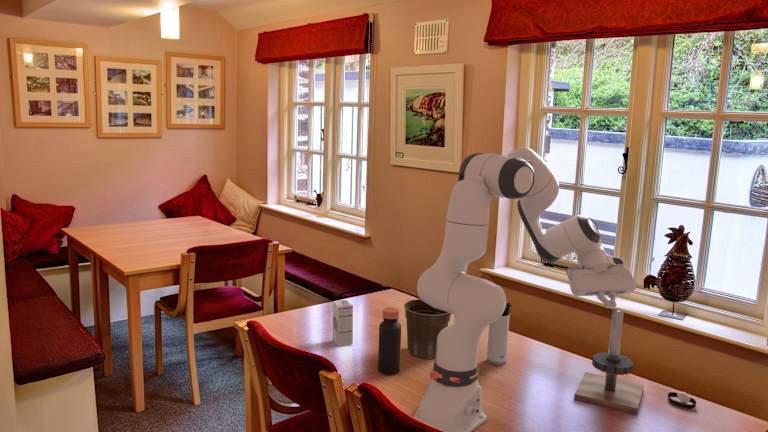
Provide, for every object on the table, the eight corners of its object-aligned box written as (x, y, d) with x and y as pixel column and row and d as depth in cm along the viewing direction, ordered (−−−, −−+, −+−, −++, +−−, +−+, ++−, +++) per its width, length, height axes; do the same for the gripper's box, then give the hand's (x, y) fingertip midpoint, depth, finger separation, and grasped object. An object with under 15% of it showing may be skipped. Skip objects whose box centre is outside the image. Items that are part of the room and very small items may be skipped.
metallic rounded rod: (615, 392, 184) (623, 313, 179) (603, 390, 185) (611, 311, 181) (616, 388, 187) (625, 310, 182) (604, 385, 188) (612, 308, 184)
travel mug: (507, 366, 204) (511, 307, 200) (486, 364, 205) (490, 305, 202) (507, 359, 210) (511, 301, 206) (487, 356, 211) (491, 299, 208)
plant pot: (456, 348, 218) (459, 303, 215) (440, 365, 203) (443, 317, 200) (413, 339, 224) (414, 295, 221) (394, 355, 210) (396, 309, 207)
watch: (697, 407, 182) (699, 395, 181) (691, 412, 178) (693, 400, 178) (670, 397, 187) (671, 386, 186) (664, 402, 184) (665, 391, 183)
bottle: (401, 368, 200) (404, 307, 197) (396, 377, 194) (398, 314, 190) (381, 365, 202) (383, 305, 198) (375, 373, 196) (377, 312, 192)
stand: (636, 415, 175) (637, 408, 175) (573, 400, 183) (574, 393, 182) (643, 390, 190) (643, 384, 190) (584, 378, 198) (585, 371, 197)
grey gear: (630, 377, 178) (630, 371, 177) (589, 369, 182) (590, 362, 182) (634, 363, 187) (635, 357, 187) (595, 356, 192) (596, 349, 192)
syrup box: (353, 344, 218) (354, 304, 215) (336, 346, 216) (337, 306, 213) (348, 338, 223) (348, 299, 220) (331, 340, 221) (332, 300, 218)
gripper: (569, 261, 187) (584, 303, 180) (629, 259, 193) (646, 300, 185) (560, 272, 192) (574, 313, 185) (618, 270, 198) (635, 310, 190)
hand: (611, 307), depth 185 cm, fingers closed
